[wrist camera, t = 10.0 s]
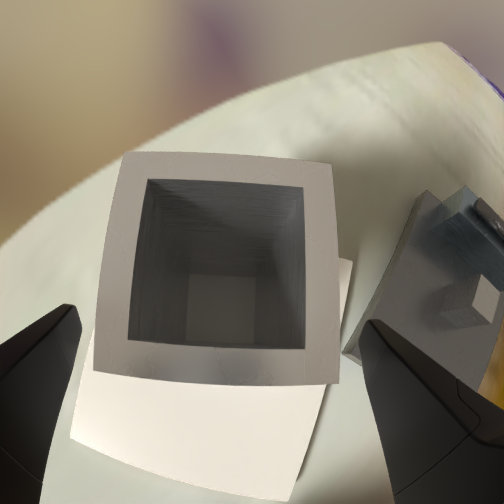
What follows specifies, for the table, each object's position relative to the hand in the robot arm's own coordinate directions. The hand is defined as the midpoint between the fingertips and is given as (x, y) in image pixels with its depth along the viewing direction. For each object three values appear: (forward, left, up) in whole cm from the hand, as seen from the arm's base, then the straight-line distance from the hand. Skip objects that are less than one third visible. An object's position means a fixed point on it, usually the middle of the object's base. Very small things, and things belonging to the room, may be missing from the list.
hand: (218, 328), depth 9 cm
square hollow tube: (+1, 0, -8) cm, 9 cm away
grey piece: (+5, -16, -10) cm, 19 cm away
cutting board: (-2, 0, -10) cm, 10 cm away
